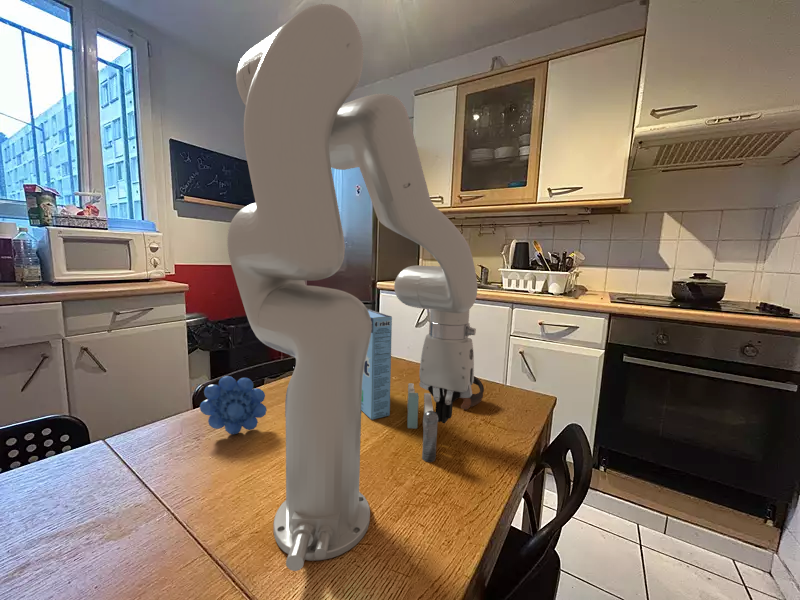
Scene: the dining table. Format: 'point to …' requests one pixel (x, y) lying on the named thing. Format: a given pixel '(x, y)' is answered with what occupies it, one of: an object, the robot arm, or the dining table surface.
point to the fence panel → (410, 389)
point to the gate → (427, 404)
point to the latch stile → (412, 410)
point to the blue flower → (233, 404)
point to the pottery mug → (472, 396)
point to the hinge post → (429, 436)
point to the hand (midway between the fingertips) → (443, 419)
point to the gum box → (377, 368)
